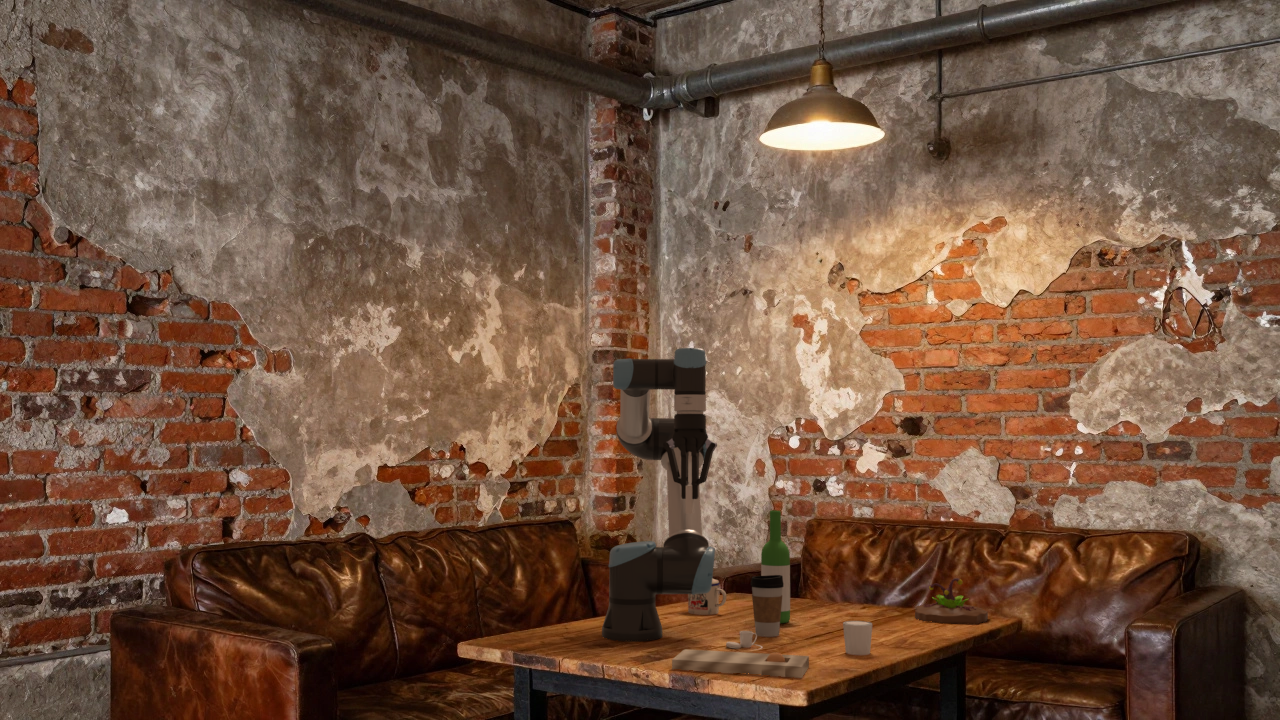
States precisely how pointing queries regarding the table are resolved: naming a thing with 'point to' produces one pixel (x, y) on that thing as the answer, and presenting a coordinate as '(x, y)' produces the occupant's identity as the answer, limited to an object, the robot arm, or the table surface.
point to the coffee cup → (767, 604)
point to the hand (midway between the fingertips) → (690, 513)
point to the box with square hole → (740, 663)
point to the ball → (775, 657)
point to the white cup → (857, 637)
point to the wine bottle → (777, 562)
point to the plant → (950, 609)
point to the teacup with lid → (706, 601)
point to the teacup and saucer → (743, 641)
